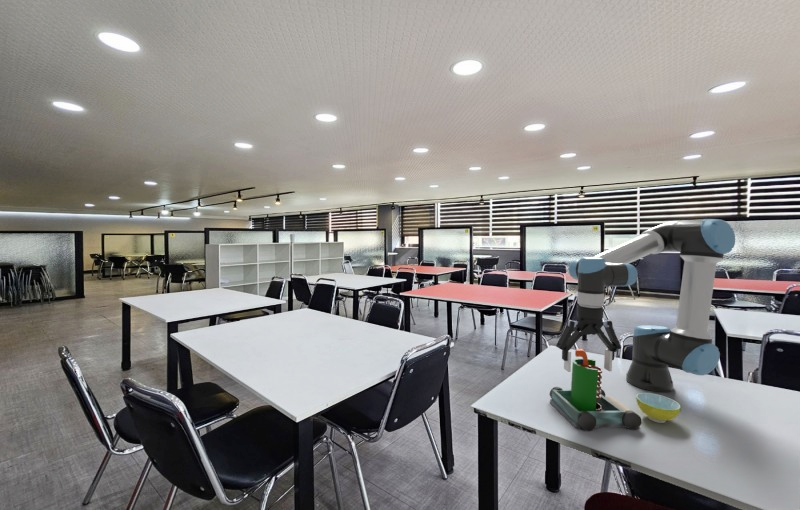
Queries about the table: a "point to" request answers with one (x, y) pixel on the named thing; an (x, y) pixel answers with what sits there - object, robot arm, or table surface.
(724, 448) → the table surface
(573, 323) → the robot arm
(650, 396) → the bowl
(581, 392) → the motor
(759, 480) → the table surface
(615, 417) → the chassis
